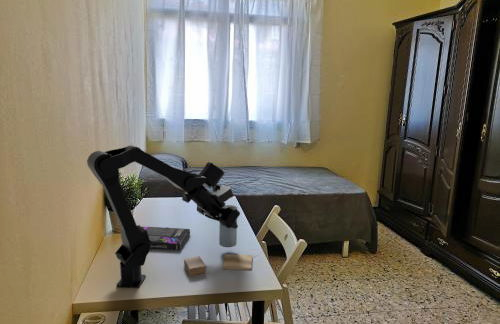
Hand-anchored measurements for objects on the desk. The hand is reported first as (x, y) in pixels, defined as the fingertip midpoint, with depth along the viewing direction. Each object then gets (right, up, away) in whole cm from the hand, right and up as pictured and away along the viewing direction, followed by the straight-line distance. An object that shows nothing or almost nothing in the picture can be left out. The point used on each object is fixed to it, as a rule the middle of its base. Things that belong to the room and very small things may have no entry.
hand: (231, 224), depth 123 cm
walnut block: (-11, -12, -13) cm, 21 cm away
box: (-27, -8, +9) cm, 30 cm away
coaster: (+3, -11, -7) cm, 13 cm away
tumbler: (-1, -7, 0) cm, 7 cm away
